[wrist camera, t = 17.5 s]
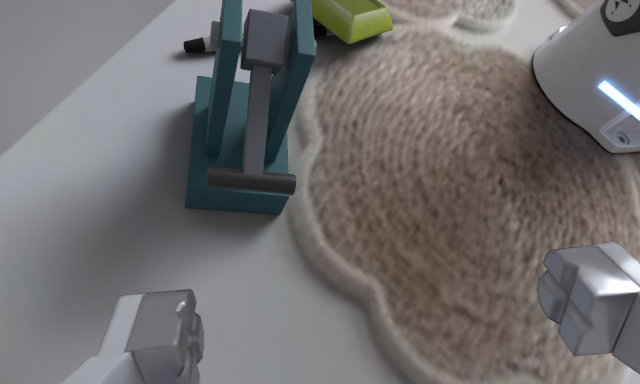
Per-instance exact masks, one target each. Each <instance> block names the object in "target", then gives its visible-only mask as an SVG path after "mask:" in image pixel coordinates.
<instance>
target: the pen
mask: <svg viewBox="0 0 640 384" xmlns="http://www.w3.org/2000/svg"><path fill="white" fill-rule="evenodd" d="M313 30H314V38H316V37H326V36H334V33H332V32H331V31H330V30H328V29H327V28H326V27H325V26H323V25H322V24H321V25H313ZM243 34H244V33H243ZM243 34H241V46H240V47H242V45H243ZM184 49H185V52H186V53H206V52H210V51H216V48H214V47H210V37H206V38H203V37H202V38H198V39H194V40H190V41H185V42H184Z"/></svg>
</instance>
